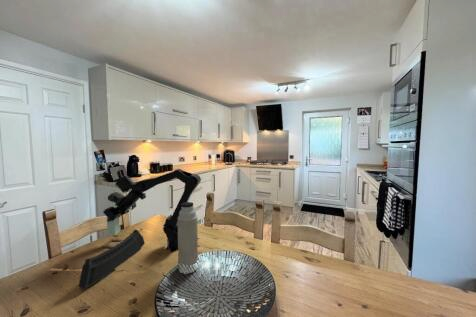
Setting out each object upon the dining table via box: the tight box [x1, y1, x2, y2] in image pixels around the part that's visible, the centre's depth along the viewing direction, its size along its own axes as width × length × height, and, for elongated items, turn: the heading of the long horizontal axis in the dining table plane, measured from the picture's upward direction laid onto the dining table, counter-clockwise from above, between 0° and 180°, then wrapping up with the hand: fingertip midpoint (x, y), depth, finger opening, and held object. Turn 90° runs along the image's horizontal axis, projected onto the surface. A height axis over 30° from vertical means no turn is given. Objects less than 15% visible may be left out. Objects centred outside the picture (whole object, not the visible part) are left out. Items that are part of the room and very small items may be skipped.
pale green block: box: [106, 216, 121, 236], centre depth 102 cm, size 4×4×11 cm
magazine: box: [78, 229, 145, 290], centre depth 84 cm, size 17×3×30 cm
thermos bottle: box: [177, 201, 199, 266], centre depth 83 cm, size 8×8×28 cm
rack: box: [101, 238, 124, 249], centre depth 102 cm, size 6×8×2 cm
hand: (110, 219), depth 101 cm, fingers closed on pale green block, 3 cm apart
